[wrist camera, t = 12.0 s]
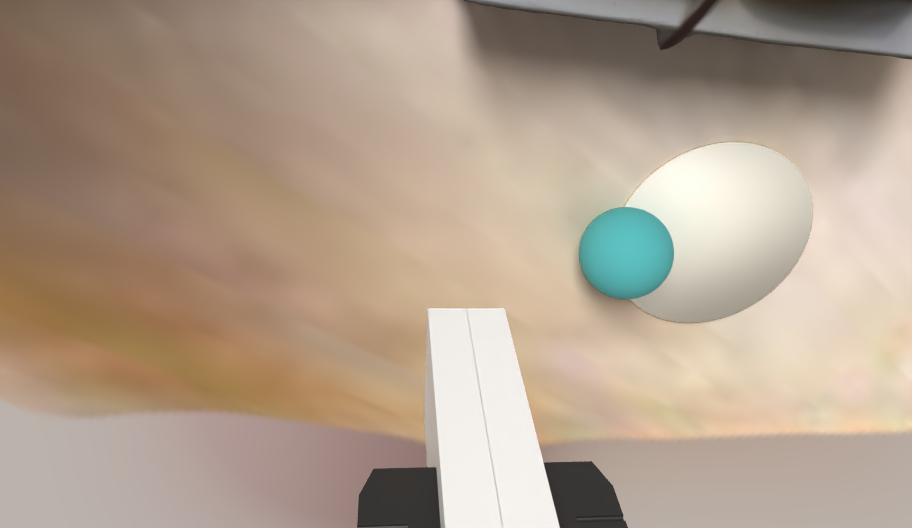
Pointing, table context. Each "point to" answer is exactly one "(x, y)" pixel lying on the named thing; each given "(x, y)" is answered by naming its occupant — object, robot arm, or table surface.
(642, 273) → the ball
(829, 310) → the table surface
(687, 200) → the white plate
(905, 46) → the bible
